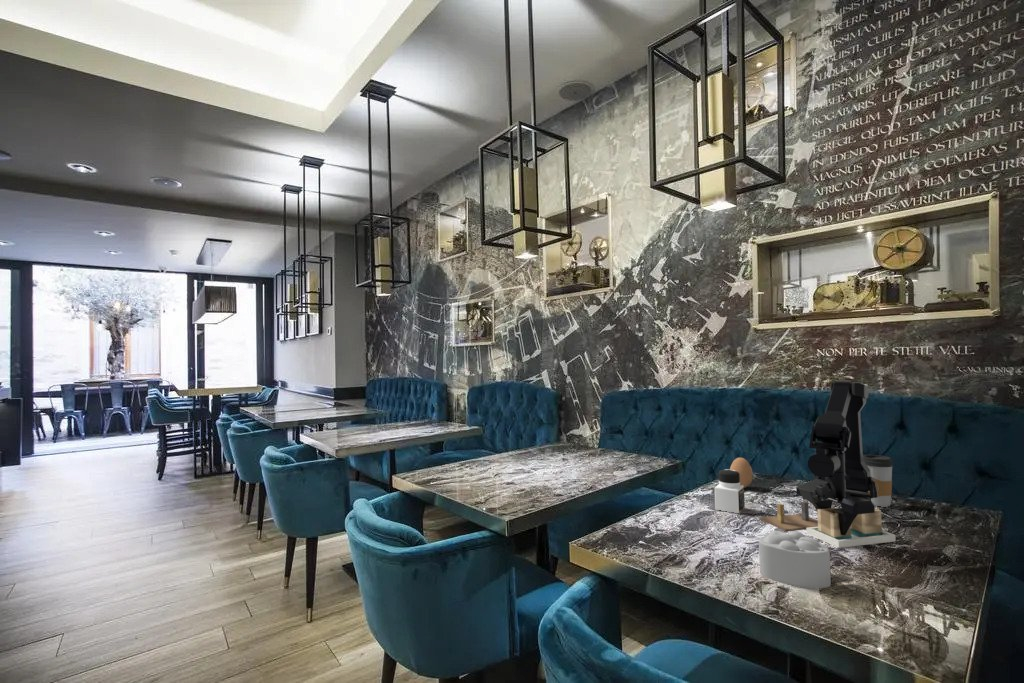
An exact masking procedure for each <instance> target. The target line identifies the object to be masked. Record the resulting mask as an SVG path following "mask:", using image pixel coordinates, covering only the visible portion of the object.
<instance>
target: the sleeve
mask: <svg viewBox="0 0 1024 683" xmlns="http://www.w3.org/2000/svg"><path fill="white" fill-rule="evenodd" d="M882 530H883V526H882V510H881V509H878V508H875V513H867V514H858V515H857V516H856V518H855V519H854V521H853V522H852V524H851V534H852V535H855V536H857V537H869V536H878V535H883V532H882Z"/></svg>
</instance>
